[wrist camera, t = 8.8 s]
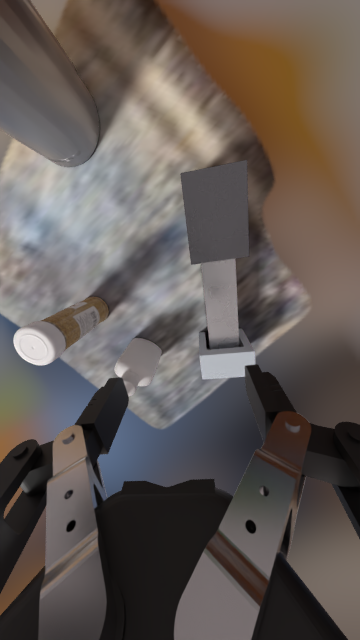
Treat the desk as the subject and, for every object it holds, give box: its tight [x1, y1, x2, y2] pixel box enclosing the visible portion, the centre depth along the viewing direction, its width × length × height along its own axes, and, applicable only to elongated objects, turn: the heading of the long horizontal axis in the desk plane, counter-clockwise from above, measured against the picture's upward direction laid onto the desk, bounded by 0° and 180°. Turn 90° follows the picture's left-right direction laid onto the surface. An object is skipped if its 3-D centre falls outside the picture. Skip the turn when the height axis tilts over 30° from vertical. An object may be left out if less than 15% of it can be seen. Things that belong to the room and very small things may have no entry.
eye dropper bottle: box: [115, 338, 162, 396], centre depth 28 cm, size 4×6×12 cm
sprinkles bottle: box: [14, 297, 109, 365], centre depth 26 cm, size 5×5×13 cm
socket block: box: [199, 328, 255, 379], centre depth 29 cm, size 4×7×8 cm, turn 98°
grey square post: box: [201, 259, 239, 350], centre depth 27 cm, size 16×4×5 cm, turn 8°
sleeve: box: [181, 160, 249, 265], centre depth 23 cm, size 9×6×7 cm
